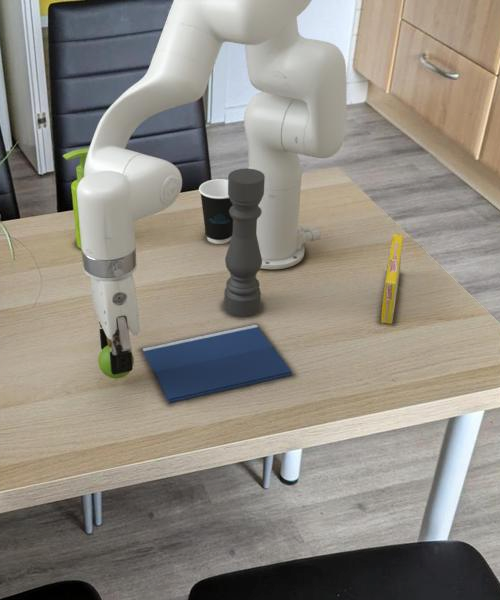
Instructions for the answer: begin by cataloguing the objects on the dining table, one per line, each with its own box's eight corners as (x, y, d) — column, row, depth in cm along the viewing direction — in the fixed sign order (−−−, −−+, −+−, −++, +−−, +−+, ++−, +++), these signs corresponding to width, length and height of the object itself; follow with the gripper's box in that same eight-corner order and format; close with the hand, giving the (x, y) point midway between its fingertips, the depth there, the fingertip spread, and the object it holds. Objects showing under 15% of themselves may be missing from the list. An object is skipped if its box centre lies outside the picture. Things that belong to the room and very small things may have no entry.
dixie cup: (213, 252, 161) (213, 201, 155) (191, 235, 167) (191, 185, 161) (247, 240, 164) (249, 190, 158) (224, 224, 170) (225, 175, 163)
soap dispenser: (67, 241, 167) (58, 149, 156) (98, 233, 170) (91, 141, 158) (78, 254, 163) (69, 160, 152) (110, 245, 165) (104, 152, 154)
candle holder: (258, 318, 142) (265, 185, 128) (222, 315, 143) (224, 184, 129) (261, 298, 147) (267, 168, 133) (225, 296, 148) (228, 167, 134)
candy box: (387, 272, 151) (392, 232, 147) (399, 274, 151) (405, 234, 146) (378, 322, 139) (384, 281, 134) (392, 324, 138) (398, 282, 133)
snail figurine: (137, 359, 131) (133, 297, 124) (132, 386, 126) (128, 323, 119) (103, 358, 132) (98, 296, 125) (97, 385, 127) (91, 321, 120)
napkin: (255, 325, 140) (255, 322, 140) (291, 375, 129) (292, 372, 128) (142, 350, 136) (141, 346, 136) (168, 403, 125) (168, 399, 124)
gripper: (153, 284, 111) (157, 389, 121) (118, 226, 124) (125, 324, 135) (98, 295, 109) (107, 400, 119) (70, 234, 123) (80, 333, 133)
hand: (116, 359), depth 127 cm, fingers closed on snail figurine, 5 cm apart
